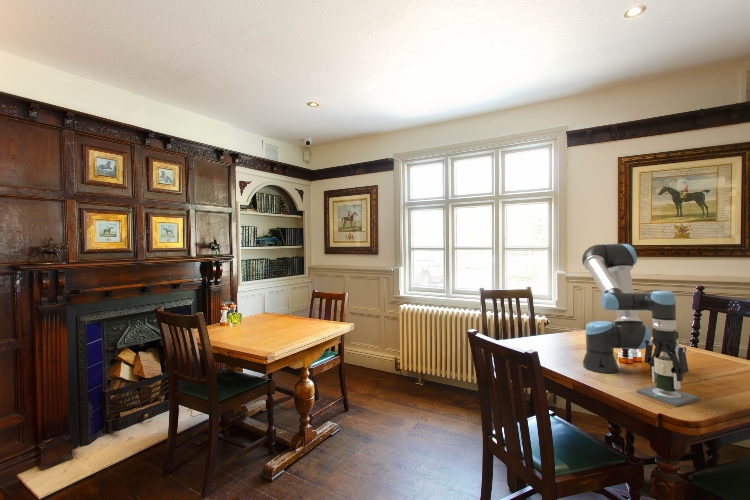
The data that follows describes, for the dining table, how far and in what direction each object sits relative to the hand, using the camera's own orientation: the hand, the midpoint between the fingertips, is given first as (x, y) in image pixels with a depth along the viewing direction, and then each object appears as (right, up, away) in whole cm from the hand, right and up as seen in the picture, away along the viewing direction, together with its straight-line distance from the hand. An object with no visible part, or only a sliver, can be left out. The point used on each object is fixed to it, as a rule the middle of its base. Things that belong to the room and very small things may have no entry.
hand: (666, 385), depth 139 cm
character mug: (0, -2, 0) cm, 2 cm away
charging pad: (0, -5, 0) cm, 5 cm away
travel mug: (+25, -4, +26) cm, 36 cm away
